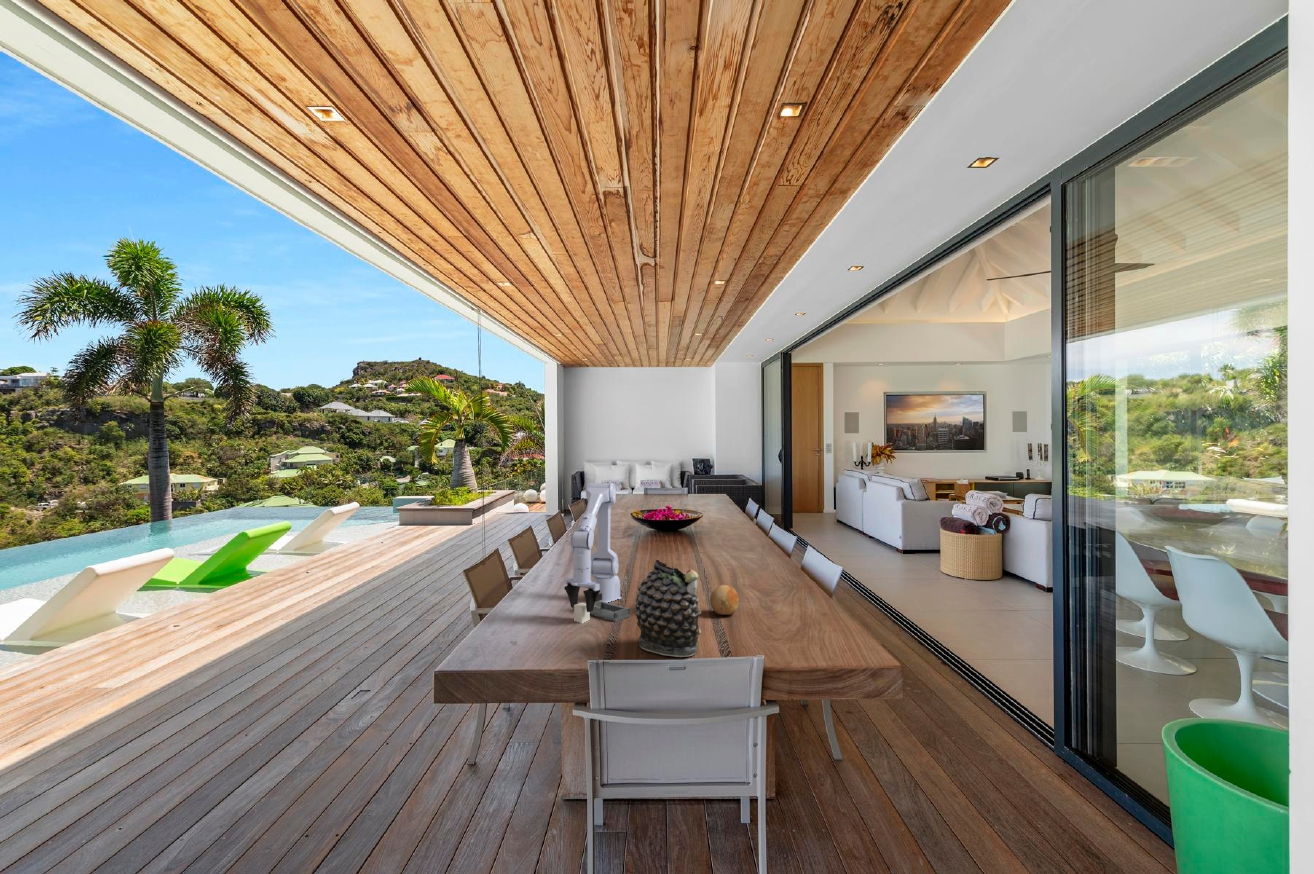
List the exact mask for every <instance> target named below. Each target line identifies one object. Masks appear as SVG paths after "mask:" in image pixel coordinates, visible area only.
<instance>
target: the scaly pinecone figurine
mask: <svg viewBox="0 0 1314 874" xmlns="http://www.w3.org/2000/svg"><path fill="white" fill-rule="evenodd" d="M653 564H654V565H653V570H652V571H649V572H648V573H647V575H646V578H644V579H643V580H642V581H641V582H640V583H641V584H640V585H638V586H637V590H638V592H636V598H635V607H634V608H633V611H634V612H635V616H636V620H637V623H636V625H637V627H638V628H639V629H640V635H639V637H638V643H639V647H640V648H641V649H642V650H644V651H647V652H651V653H654V654H658V655H662V656H669V657H676V658H678V657H679V658H683V657H684V658H686V657H691V656H692V657H693V656H694V655H696V653H697V652H698V648H699V645H700V644H699V641H698V638H699V635H701V634H702V630H701V628H700V627H699V625H698V624H699V616H701V615H702V611H701V610H700V609H699V607H698V606H699V602H700V601H699V598H698V596H697V595H698V594H697V590H698V579H699V574H698V572H696V571H695V570H693V569H691V568H690V569H689V570H687V571H686V573H683V572H682V571H681V570H679V568H677V567H676V566H675V567H674V566H673V565H671V567H670V566H668V565H667V563H666V562H665V563H663V562H662V561H660V560H659V559H656V560H655V561H654V563H653Z"/></svg>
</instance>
